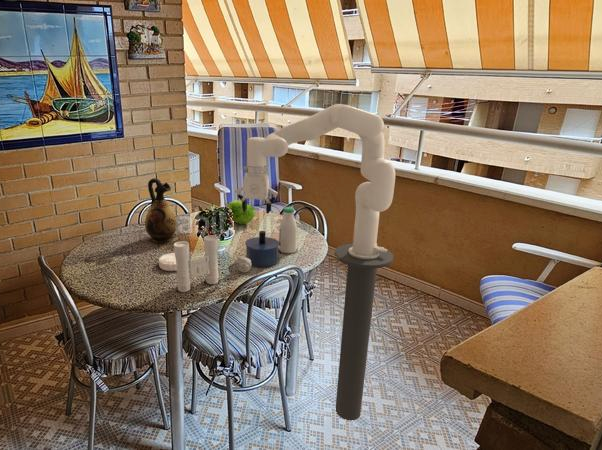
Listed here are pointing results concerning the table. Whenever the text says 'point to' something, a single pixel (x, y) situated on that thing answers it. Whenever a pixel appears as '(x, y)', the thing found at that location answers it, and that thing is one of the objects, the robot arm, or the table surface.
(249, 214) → the green fuzzy rounded mound
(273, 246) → the pot lid
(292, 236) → the milk bottle
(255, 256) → the pot
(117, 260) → the table surface
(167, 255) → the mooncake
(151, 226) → the ceramic jug
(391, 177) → the robot arm
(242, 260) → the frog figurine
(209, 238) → the binoculars
